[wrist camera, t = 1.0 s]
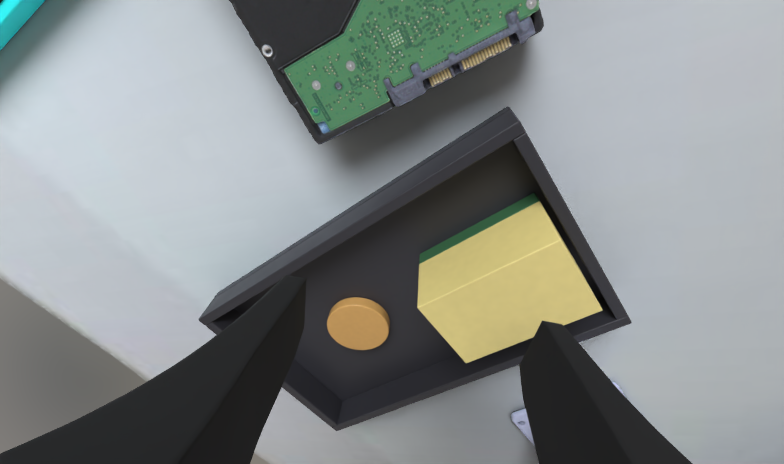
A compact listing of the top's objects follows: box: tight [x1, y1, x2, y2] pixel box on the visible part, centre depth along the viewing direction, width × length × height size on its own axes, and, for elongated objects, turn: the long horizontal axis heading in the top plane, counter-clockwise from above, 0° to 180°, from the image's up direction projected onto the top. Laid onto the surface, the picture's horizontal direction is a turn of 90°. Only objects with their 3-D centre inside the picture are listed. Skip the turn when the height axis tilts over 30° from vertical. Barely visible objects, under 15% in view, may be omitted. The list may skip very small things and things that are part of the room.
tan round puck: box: [327, 297, 390, 350], centre depth 24 cm, size 4×4×1 cm
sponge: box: [417, 193, 602, 363], centre depth 19 cm, size 4×7×4 cm, turn 126°
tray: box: [199, 107, 631, 431], centre depth 23 cm, size 13×21×3 cm, turn 126°
